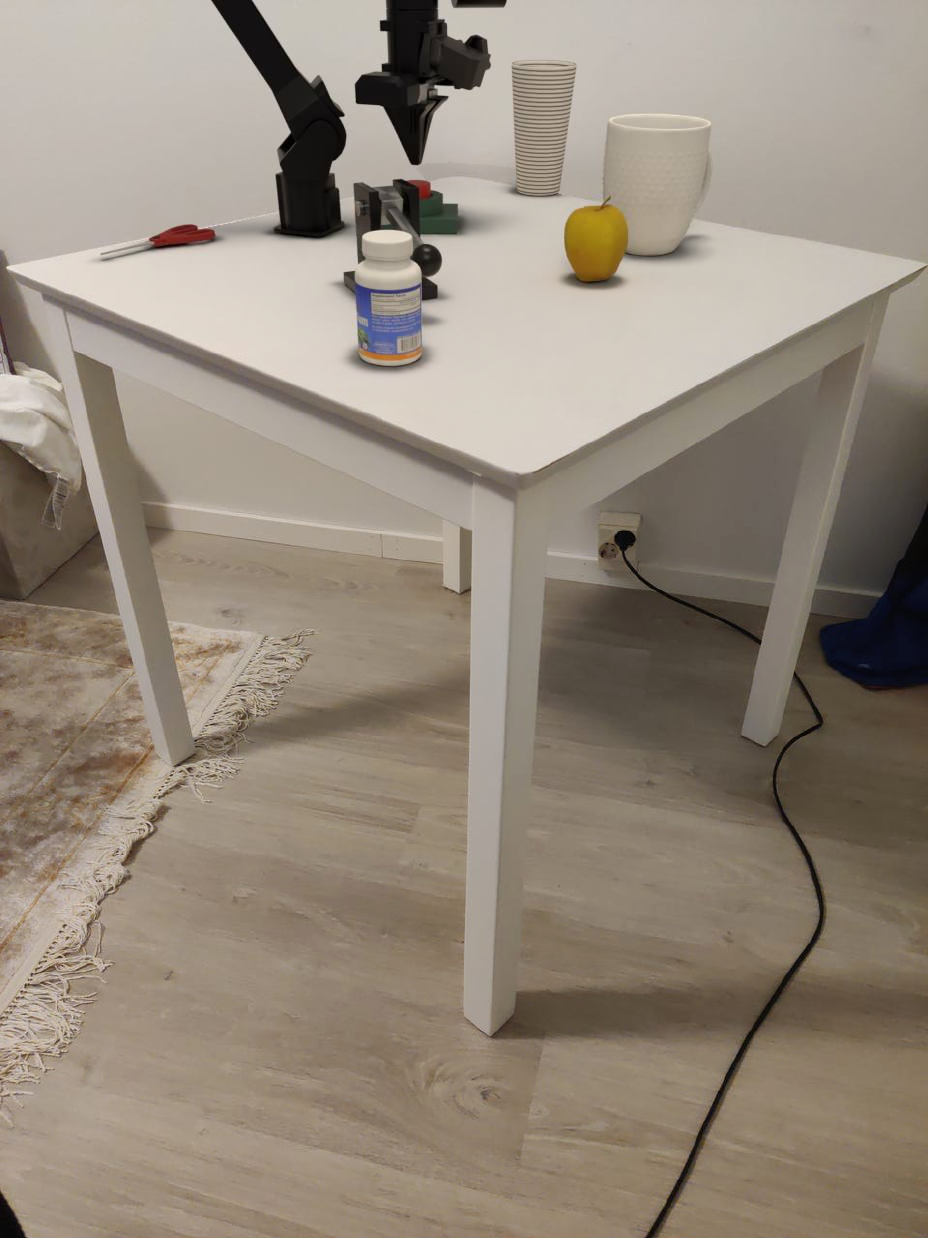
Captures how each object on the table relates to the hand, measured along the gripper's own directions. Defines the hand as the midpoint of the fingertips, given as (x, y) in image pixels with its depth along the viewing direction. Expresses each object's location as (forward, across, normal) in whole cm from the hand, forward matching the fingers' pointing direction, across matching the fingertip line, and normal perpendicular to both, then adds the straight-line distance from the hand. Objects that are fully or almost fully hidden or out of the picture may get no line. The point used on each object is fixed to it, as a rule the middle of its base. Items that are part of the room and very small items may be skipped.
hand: (416, 164), depth 113 cm
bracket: (+7, -26, -8) cm, 28 cm away
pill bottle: (+7, -42, -16) cm, 46 cm away
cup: (+7, +24, -8) cm, 26 cm away
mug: (+7, +1, -29) cm, 30 cm away
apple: (+7, -14, -26) cm, 30 cm away
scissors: (+7, -21, +23) cm, 32 cm away
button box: (+7, 0, 0) cm, 7 cm away
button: (+4, 0, 0) cm, 4 cm away
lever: (+2, -28, -11) cm, 31 cm away
